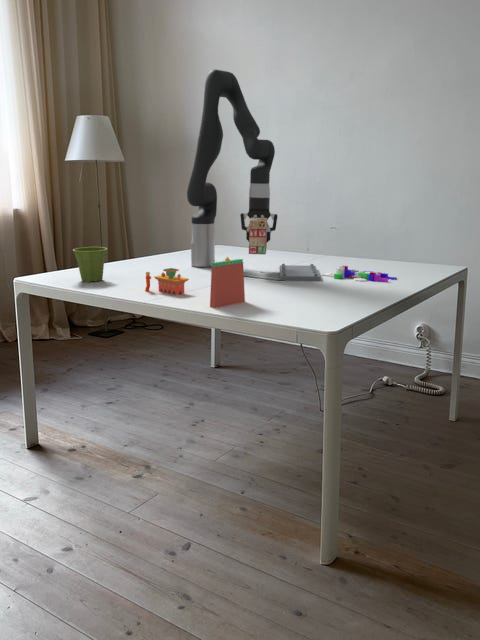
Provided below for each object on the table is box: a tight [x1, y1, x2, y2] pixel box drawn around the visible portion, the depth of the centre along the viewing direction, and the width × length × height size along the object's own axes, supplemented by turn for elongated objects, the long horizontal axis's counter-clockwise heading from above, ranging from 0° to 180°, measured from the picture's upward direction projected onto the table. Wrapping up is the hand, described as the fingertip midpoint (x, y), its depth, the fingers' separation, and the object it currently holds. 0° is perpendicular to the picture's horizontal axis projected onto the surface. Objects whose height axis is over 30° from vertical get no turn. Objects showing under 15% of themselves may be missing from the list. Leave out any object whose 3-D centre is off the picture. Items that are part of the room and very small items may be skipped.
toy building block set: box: [144, 256, 246, 309], centre depth 195 cm, size 12×35×14 cm, turn 45°
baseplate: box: [279, 263, 321, 282], centre depth 236 cm, size 14×26×2 cm, turn 177°
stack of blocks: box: [248, 217, 268, 255], centre depth 234 cm, size 21×6×12 cm, turn 177°
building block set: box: [321, 265, 398, 283], centre depth 232 cm, size 25×21×4 cm
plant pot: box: [72, 246, 108, 283], centre depth 222 cm, size 12×12×11 cm
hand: (258, 241), depth 235 cm, fingers closed on stack of blocks, 6 cm apart
